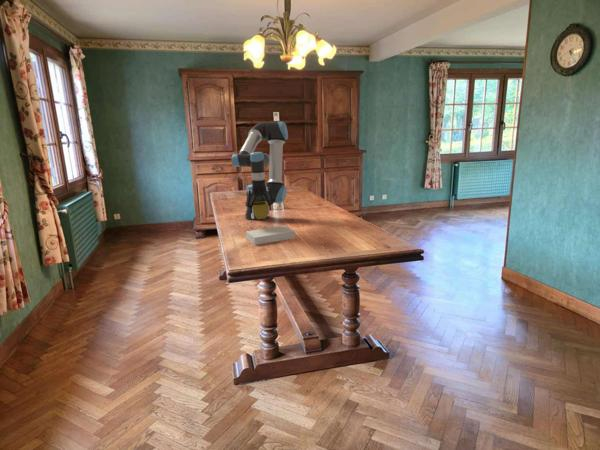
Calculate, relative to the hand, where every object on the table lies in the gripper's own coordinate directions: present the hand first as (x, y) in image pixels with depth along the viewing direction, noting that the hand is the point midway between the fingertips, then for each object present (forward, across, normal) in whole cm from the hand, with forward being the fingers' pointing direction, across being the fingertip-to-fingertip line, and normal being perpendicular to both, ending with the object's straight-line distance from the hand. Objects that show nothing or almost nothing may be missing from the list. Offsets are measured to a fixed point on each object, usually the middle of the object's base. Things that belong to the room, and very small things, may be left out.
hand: (260, 217), depth 229 cm
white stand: (+9, 0, -16) cm, 18 cm away
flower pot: (+1, 0, 0) cm, 1 cm away
